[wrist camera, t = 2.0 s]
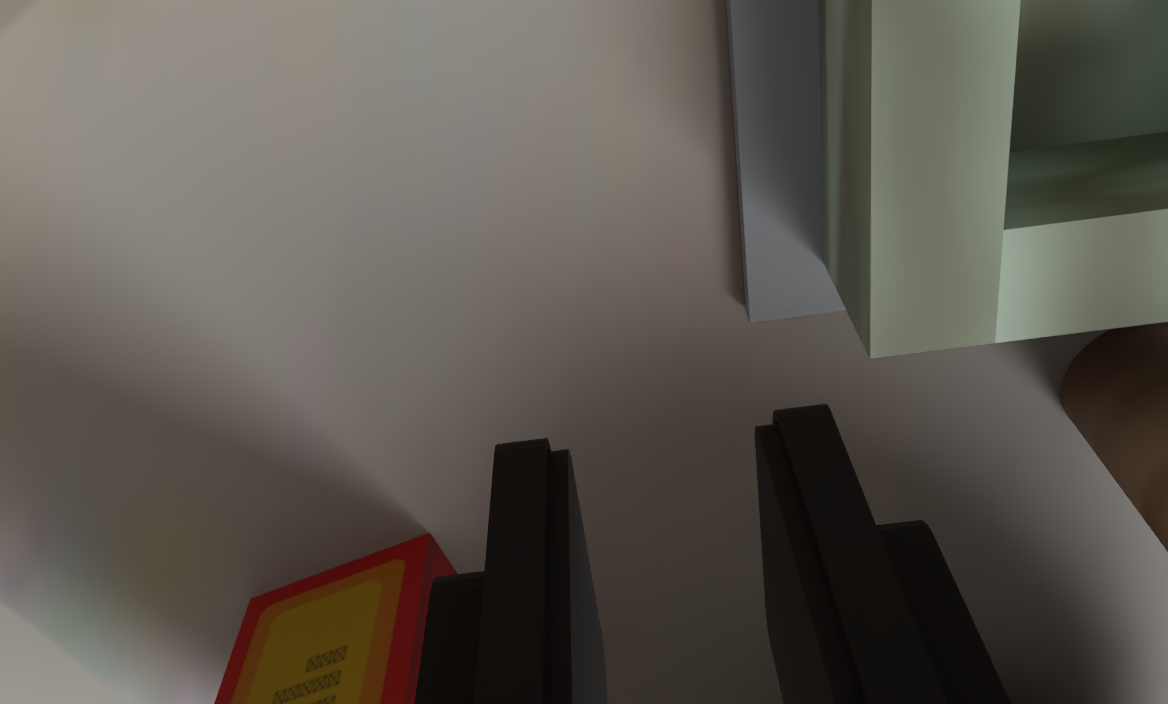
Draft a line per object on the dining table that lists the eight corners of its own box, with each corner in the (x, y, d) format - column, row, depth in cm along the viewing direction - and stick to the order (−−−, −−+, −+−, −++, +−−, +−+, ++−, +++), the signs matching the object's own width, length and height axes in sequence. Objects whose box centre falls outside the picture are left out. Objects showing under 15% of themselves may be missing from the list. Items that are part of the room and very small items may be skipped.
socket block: (1355, -289, 22) (1542, -290, 18) (1254, 208, 27) (1378, 295, 23) (814, -207, 22) (872, -190, 18) (823, 263, 28) (870, 358, 24)
